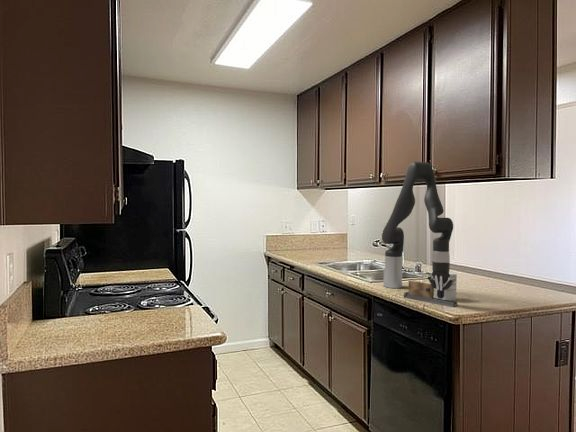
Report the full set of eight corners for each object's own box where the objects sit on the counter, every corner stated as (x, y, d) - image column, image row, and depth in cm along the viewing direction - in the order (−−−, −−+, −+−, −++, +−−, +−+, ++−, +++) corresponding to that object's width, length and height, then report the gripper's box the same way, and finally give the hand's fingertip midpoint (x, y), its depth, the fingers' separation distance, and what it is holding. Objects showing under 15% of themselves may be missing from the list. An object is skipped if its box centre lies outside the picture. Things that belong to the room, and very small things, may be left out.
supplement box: (434, 297, 210) (434, 272, 210) (446, 296, 213) (446, 271, 212) (444, 301, 203) (444, 274, 203) (456, 299, 206) (457, 273, 205)
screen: (407, 295, 210) (407, 281, 210) (409, 294, 211) (410, 280, 211) (431, 299, 200) (431, 284, 200) (433, 299, 201) (433, 284, 201)
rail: (403, 297, 211) (403, 292, 211) (408, 296, 214) (408, 291, 213) (453, 307, 191) (453, 301, 191) (457, 305, 193) (457, 300, 193)
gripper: (423, 260, 200) (423, 297, 200) (449, 262, 190) (449, 301, 190) (432, 258, 205) (432, 294, 205) (458, 261, 195) (458, 299, 195)
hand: (440, 298), depth 198 cm, fingers closed
